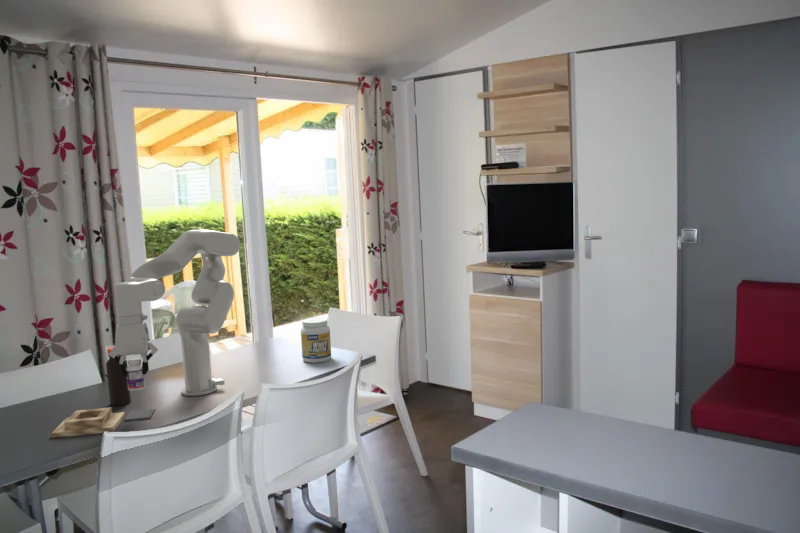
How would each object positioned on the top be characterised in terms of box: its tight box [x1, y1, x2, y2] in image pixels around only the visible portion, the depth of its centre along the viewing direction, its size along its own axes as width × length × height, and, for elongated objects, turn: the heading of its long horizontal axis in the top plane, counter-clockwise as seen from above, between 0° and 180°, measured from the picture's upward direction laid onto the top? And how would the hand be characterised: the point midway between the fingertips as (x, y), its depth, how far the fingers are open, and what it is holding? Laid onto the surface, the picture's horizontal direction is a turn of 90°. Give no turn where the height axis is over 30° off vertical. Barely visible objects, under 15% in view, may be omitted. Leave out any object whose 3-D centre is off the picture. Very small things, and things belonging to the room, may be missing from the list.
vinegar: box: [105, 346, 132, 407], centre depth 232 cm, size 7×7×20 cm
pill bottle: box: [126, 358, 146, 392], centre depth 217 cm, size 5×5×10 cm
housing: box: [51, 406, 126, 439], centre depth 211 cm, size 18×14×4 cm
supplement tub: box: [300, 317, 332, 364], centre depth 278 cm, size 12×12×17 cm
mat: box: [123, 408, 156, 422], centre depth 219 cm, size 8×8×1 cm
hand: (135, 373), depth 217 cm, fingers closed on pill bottle, 5 cm apart
